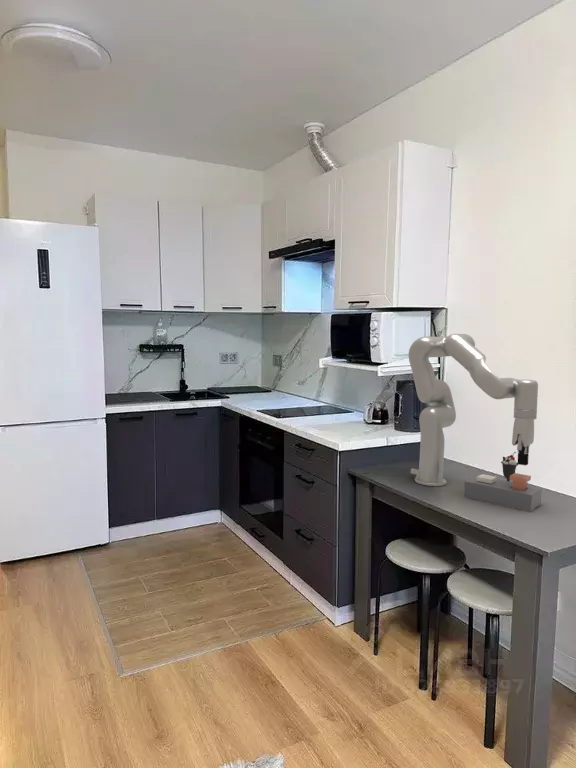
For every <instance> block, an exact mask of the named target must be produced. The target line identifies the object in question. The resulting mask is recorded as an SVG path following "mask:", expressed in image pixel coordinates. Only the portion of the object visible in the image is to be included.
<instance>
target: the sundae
mask: <svg viewBox="0 0 576 768" xmlns="http://www.w3.org/2000/svg"><path fill="white" fill-rule="evenodd" d="M516 453H517V452H516V451H514V452H513V453H512V454H510V455H508V456H506V457H505V456H502V461H500V463H501V464H502V474H503V477H504V478H505V479H506V481H509V482H511V480H510V475H512V474H514V473H516V470H517V467H518V465H519V464H518V461H516V457H514V454H516Z"/></svg>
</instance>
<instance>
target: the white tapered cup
mask: <svg viewBox="0 0 576 768" xmlns="http://www.w3.org/2000/svg"><path fill="white" fill-rule="evenodd" d="M497 479H498V477H497V476H495V475H494V476H493V475H488V474H483V473H482V474H480V475H479V476H477V480H476V481H479V482H484V483H489V484H492V483H494V482H496V481H497Z"/></svg>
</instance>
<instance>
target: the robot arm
mask: <svg viewBox="0 0 576 768" xmlns="http://www.w3.org/2000/svg"><path fill="white" fill-rule="evenodd" d="M443 357H444V358H445V357H446V358H447V357H451V358H452V359H454V360H455V361H456V362H457V363H458V364H460V365H461V366H462V367H463V368H464V369H465V370H466V371H467V372H468V373H469V375H470V377H471V379H472V381H473V382H474V383H475V385H476V386H477V387H478V388H479V389H481V390H482V391H483V392H484V393H485V394H486V395H487V396H488V397H490V398H492V399H495V400H503V399H513V398H514V401H513V403H514V404H513V418H514V422H513V428H512V438H511V439H512V440H511V444H512V446H516V450H517V463H518V465H520V466H527V465H529V453H530V446H531V445H532V444H534V439H535V438H534V437H535V420H537V418H538V417H537V415H538V413H537V411H538V395H539V394H538V393H539V383H538V381H537V380H533V379H519V378H512V377H501V378H500V377H499V376H498V375H496V374H495V373H494V372H493V371H492V370H491V369H490V368H489V366H488V365H487V364H486V359H487V357H486V354H485V353H483V352H482V351H480V350H479V349H478V348H477V347H476V342H475V340H474V338H473V337H472V336H471V335H470V334H467V333H453V334H449V335H447V336H429V335H428V336H422V337H418V338H417V339H415V340H413V342H412V344H411V345H410V347H409V349H408V362H409V365H410V368H411V371H412V372H411V373H412V376H413V381H414V386H415V390H416V394H417V398H418V400H419V402H421V403H424V404H432V406H427V407H425V408H424V409H422V410H421V412H420V413H419V417H418V418H419V419H418V421H419V429H420V431H419V432H420V447H419V462H418V463H419V464H418V465H419V466H418V469H417V468H411V469H410V474H411V475H415V477H414V481H415V483H417V484H419V485H423V486H427V487H443V486H445V485H446V484H447V479H445V478H443V477H444V476H443V475H444V473H443V472H444V460H445V459H444V456H445V434H444V430H443V429H444V428H445V429H446V428H449V427H451V426H452V425H453V424H454V423H455V421H456V420H457V419H456V418H457V414H456V413H457V412H456V408H455V405H454V404H455V403H454V399H453V395H452V391H451V388H450V386H449V385H448V383H447V382H446V381H444V380H443V379H439V378H438V379H437V378H436V375H435V372H434V371H435V370H434V367H433V365H432V363H431V362H430V360H429V358H443Z"/></svg>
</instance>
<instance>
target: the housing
mask: <svg viewBox="0 0 576 768" xmlns="http://www.w3.org/2000/svg"><path fill="white" fill-rule="evenodd" d="M477 476H479V475H478V474H476V475H474V476H472V477H470V478H469V479H466V480H464V487H463V488H464V490H463V497H464V498H469V499H473V500H477V501H481V502H486V503H491V504H494V505H495V504H496V505H499V506H504V507H507V508H511V507H512V508H513V509H517V510H521V511H526V512H529V513H530V512H532V511H534V510H535V509H536V508H537V507H539V506H540V505H542V503H541V502H542V494H543V493H542V491H543V487H537V486H534V485H528V484H527V489H526V490H525V491H523V490H518V489H513V488H512V481H510V482H509V481H507V480H504V479H498V478H497V481H496V482H494V483H492V484H489V483H484V482H479V481H476V480H477Z"/></svg>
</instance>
